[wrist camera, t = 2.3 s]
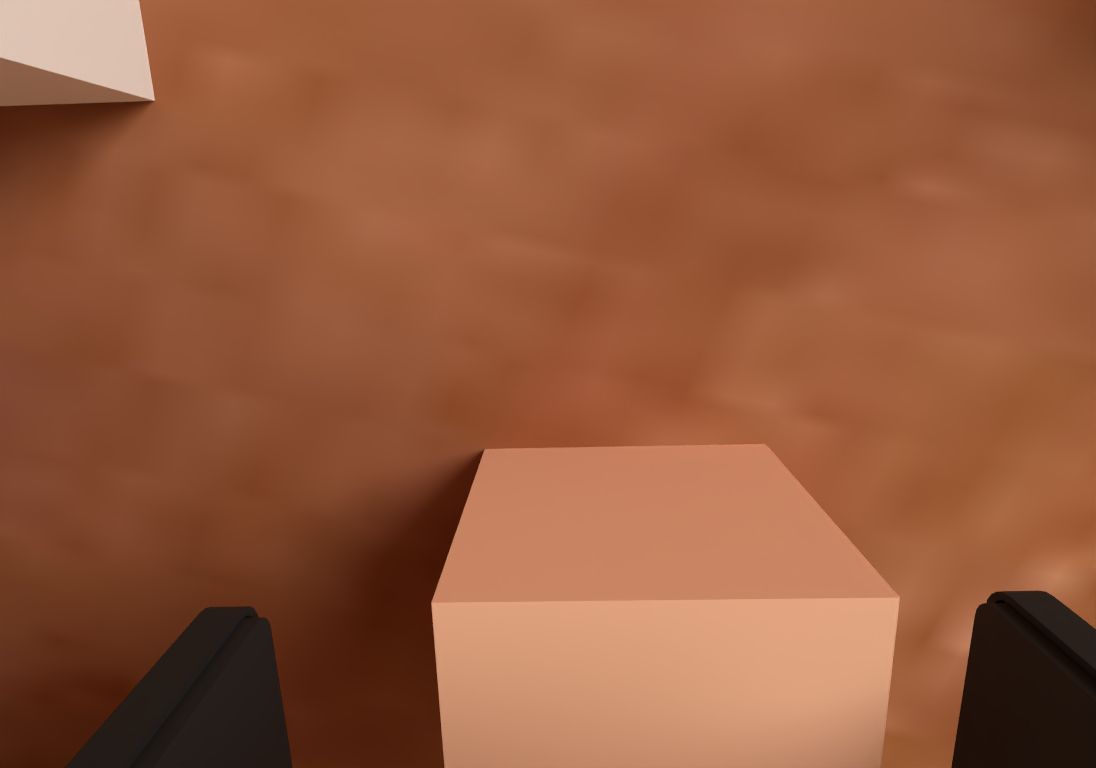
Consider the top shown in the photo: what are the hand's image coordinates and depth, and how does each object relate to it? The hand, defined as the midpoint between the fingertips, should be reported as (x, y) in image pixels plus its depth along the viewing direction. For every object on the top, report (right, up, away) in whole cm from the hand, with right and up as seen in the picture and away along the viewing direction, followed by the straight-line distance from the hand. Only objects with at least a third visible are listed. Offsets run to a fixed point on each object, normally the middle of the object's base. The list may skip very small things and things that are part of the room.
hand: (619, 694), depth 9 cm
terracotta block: (0, +1, +4) cm, 4 cm away
